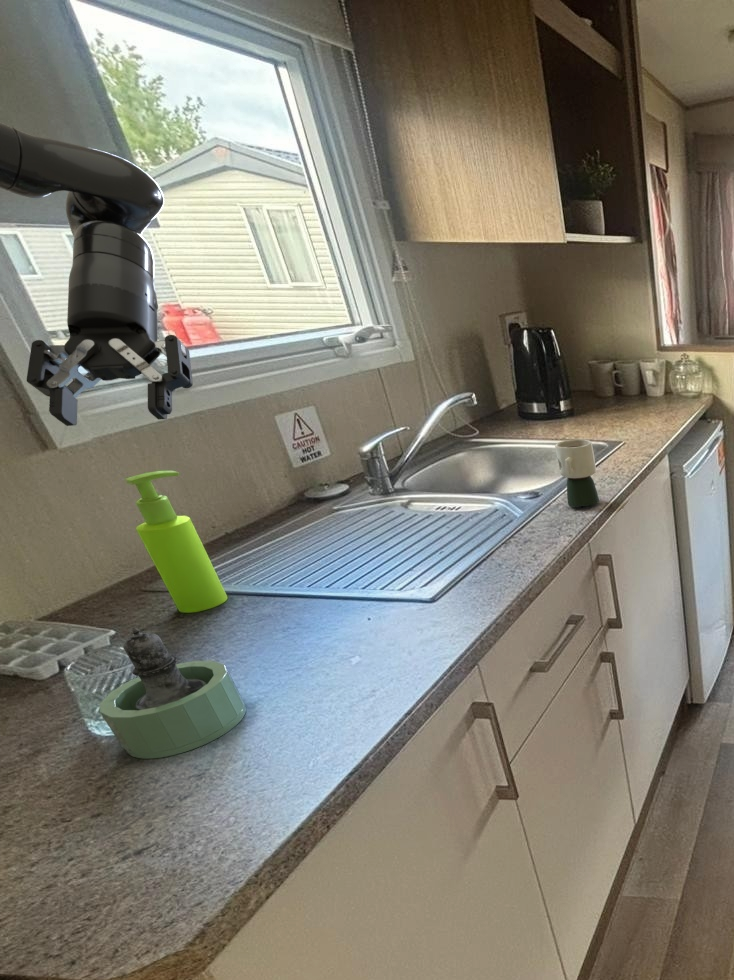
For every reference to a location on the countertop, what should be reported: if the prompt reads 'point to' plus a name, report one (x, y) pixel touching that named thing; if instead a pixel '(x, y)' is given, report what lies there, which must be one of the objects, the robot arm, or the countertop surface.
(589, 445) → the character mug
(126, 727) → the holder
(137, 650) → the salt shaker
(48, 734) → the countertop surface
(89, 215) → the robot arm
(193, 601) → the soap dispenser
